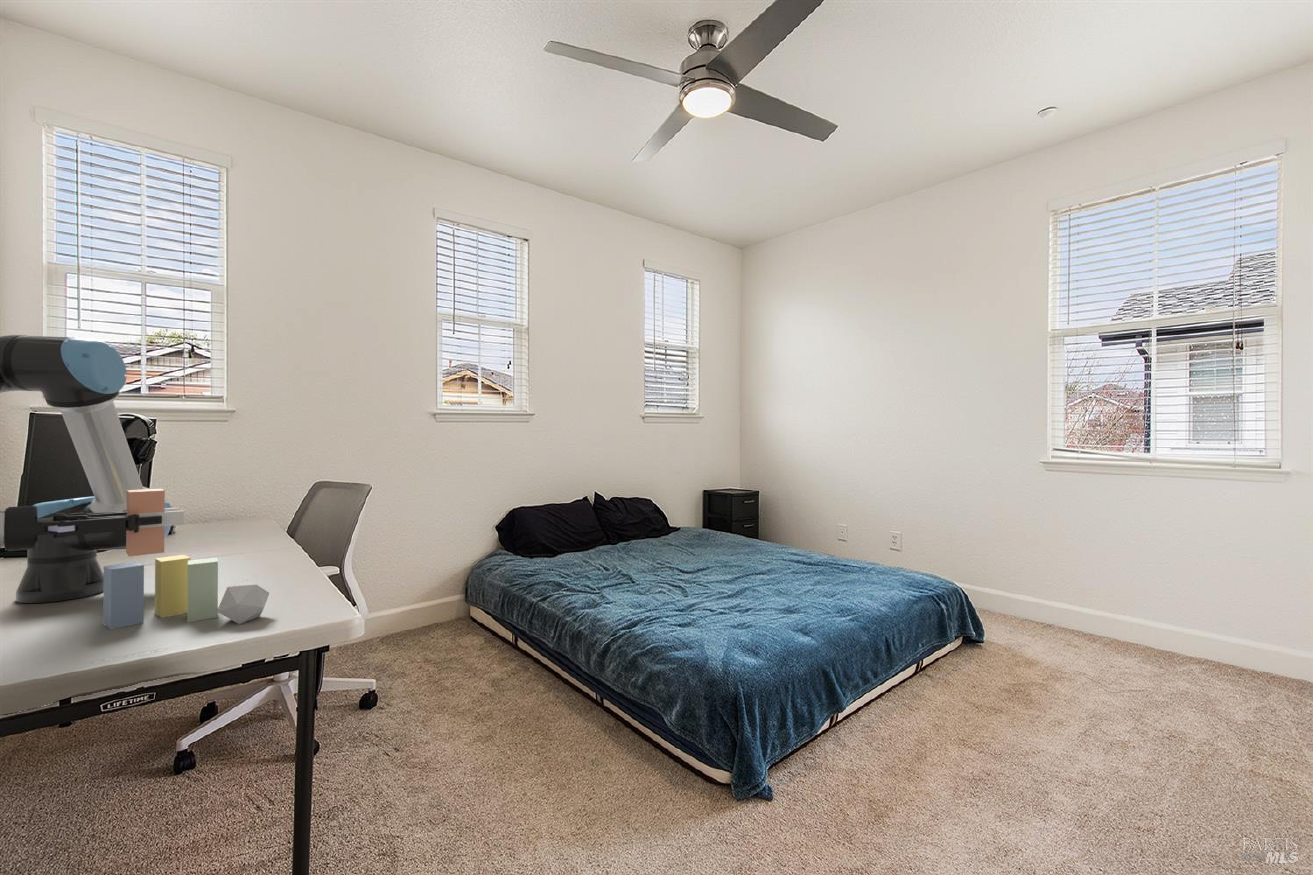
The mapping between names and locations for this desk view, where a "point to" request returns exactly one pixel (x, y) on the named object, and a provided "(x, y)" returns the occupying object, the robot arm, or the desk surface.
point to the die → (243, 602)
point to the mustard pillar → (171, 585)
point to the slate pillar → (123, 595)
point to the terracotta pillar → (146, 537)
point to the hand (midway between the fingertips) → (180, 515)
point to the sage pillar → (202, 589)
